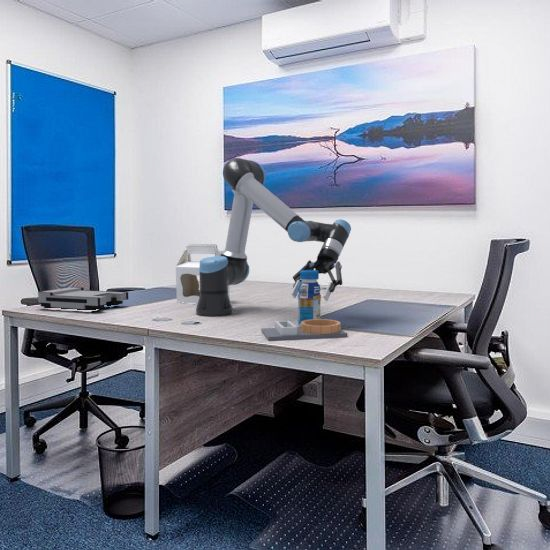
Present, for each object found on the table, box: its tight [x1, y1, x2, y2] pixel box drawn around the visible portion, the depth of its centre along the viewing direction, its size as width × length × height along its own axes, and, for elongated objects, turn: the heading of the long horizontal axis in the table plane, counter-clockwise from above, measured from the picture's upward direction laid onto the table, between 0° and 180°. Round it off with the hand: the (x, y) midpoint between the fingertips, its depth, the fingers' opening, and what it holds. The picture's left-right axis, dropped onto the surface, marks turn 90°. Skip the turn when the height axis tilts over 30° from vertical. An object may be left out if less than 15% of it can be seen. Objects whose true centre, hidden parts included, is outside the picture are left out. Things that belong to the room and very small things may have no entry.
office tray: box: [37, 286, 129, 310], centre depth 229 cm, size 21×32×8 cm, turn 70°
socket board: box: [260, 318, 348, 342], centre depth 170 cm, size 26×14×4 cm, turn 101°
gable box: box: [175, 243, 231, 305], centre depth 243 cm, size 22×13×28 cm, turn 64°
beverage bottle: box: [297, 269, 322, 327], centre depth 185 cm, size 8×8×20 cm
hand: (308, 297), depth 184 cm, fingers open, 13 cm apart
